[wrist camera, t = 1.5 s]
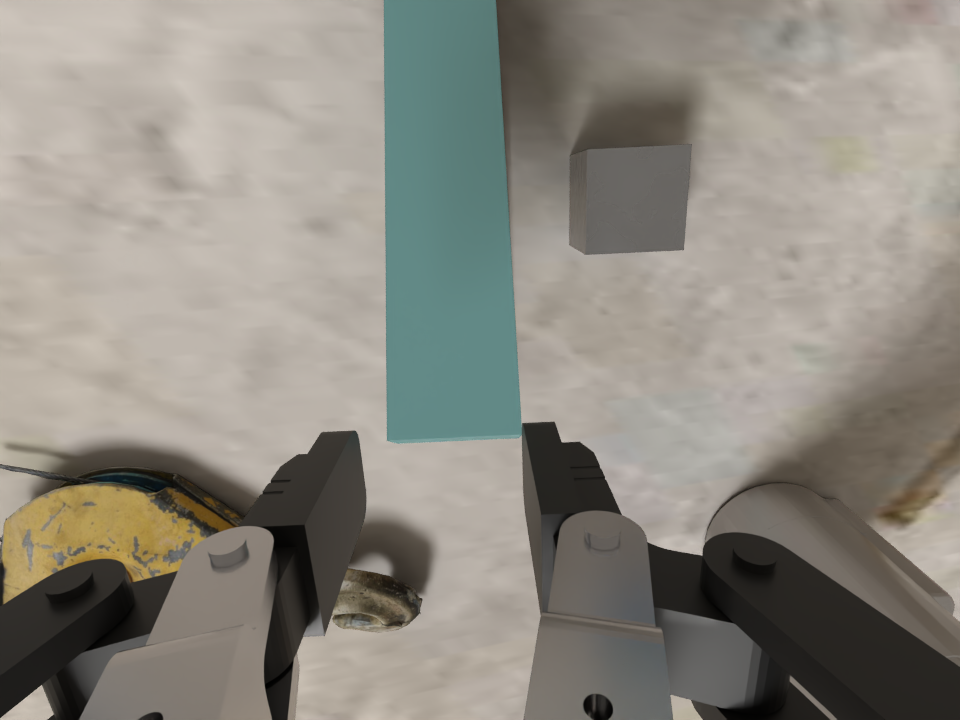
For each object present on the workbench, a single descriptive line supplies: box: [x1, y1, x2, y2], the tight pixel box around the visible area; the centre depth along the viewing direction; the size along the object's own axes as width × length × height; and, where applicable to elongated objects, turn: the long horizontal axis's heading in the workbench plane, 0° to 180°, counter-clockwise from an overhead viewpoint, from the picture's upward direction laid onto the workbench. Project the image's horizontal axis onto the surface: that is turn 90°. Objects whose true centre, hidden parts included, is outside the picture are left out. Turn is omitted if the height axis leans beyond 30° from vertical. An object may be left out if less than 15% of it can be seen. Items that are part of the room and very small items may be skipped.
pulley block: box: [0, 464, 422, 633], centre depth 36 cm, size 14×6×30 cm
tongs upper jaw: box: [384, 0, 522, 444], centre depth 20 cm, size 4×24×2 cm
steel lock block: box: [569, 144, 692, 255], centre depth 28 cm, size 5×5×5 cm
